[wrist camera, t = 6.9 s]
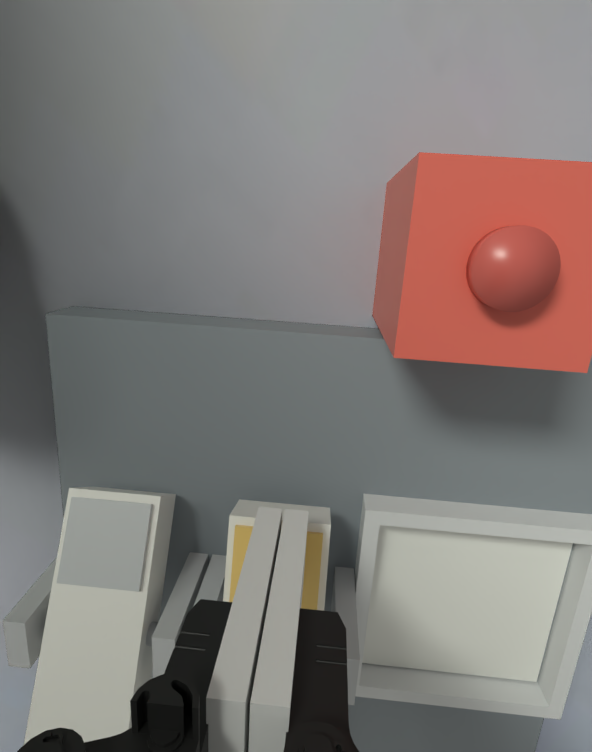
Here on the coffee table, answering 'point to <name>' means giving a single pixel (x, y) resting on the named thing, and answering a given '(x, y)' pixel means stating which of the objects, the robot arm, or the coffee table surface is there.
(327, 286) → the coffee table surface
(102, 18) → the coffee table surface
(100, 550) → the block
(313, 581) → the breaker
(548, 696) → the panel
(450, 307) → the cap
